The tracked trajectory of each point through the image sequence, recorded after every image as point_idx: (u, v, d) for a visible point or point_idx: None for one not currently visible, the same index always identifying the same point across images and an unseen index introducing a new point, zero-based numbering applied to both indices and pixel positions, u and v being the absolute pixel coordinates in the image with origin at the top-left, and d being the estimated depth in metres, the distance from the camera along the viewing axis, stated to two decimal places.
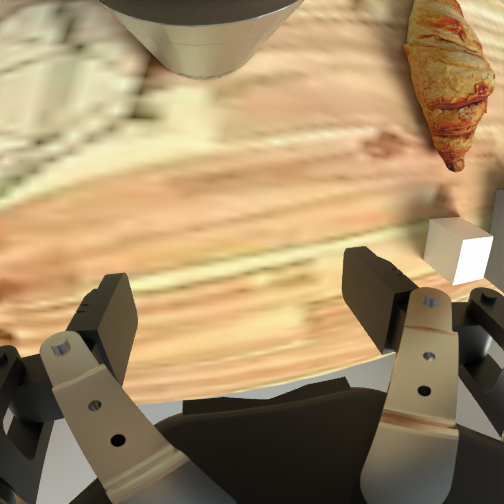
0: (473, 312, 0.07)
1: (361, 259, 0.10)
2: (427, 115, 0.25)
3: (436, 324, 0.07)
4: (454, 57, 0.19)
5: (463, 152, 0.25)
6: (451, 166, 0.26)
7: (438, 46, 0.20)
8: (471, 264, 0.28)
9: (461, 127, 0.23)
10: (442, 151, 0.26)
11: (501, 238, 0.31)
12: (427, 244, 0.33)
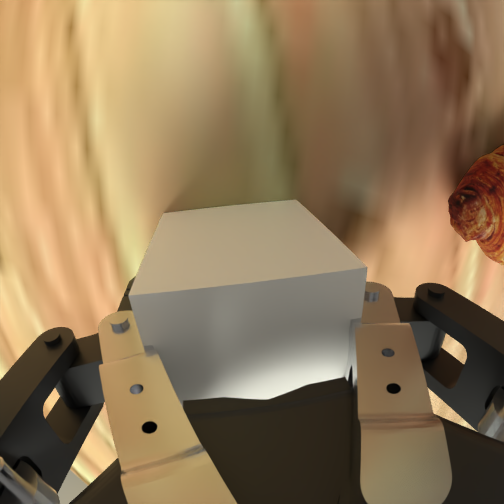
0: (422, 311, 0.08)
1: None
2: None
3: (368, 318, 0.07)
4: None
5: None
6: (473, 194, 0.10)
7: None
8: (239, 365, 0.07)
9: None
10: (492, 165, 0.10)
11: None
12: (218, 209, 0.12)
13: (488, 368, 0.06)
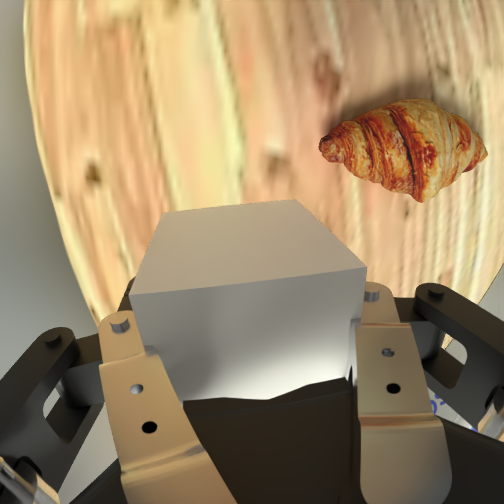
0: (422, 311, 0.08)
1: None
2: (372, 110, 0.25)
3: (368, 318, 0.07)
4: (445, 123, 0.23)
5: (349, 149, 0.25)
6: (327, 138, 0.25)
7: (444, 116, 0.24)
8: (239, 365, 0.07)
9: (379, 138, 0.24)
10: (342, 125, 0.25)
11: None
12: (218, 209, 0.12)
13: (488, 368, 0.06)
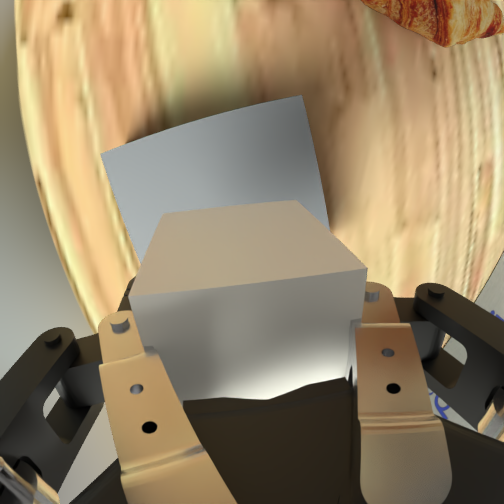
0: (422, 311, 0.08)
1: None
2: None
3: (368, 318, 0.07)
4: None
5: None
6: None
7: None
8: (239, 366, 0.07)
9: None
10: None
11: None
12: (218, 209, 0.12)
13: (488, 368, 0.06)
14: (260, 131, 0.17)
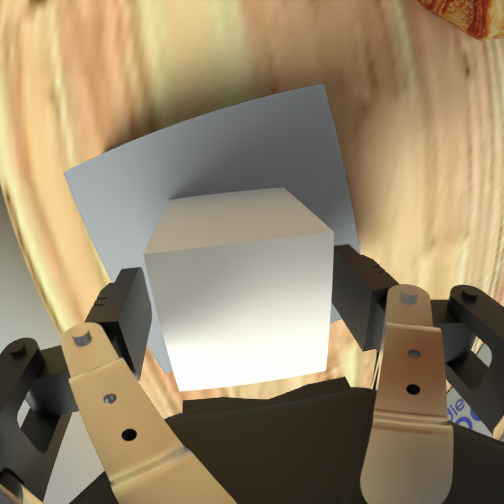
0: (455, 311, 0.07)
1: (343, 257, 0.10)
2: None
3: (411, 321, 0.07)
4: None
5: None
6: None
7: None
8: (232, 315, 0.09)
9: None
10: None
11: None
12: (216, 195, 0.13)
13: None
14: (270, 132, 0.13)
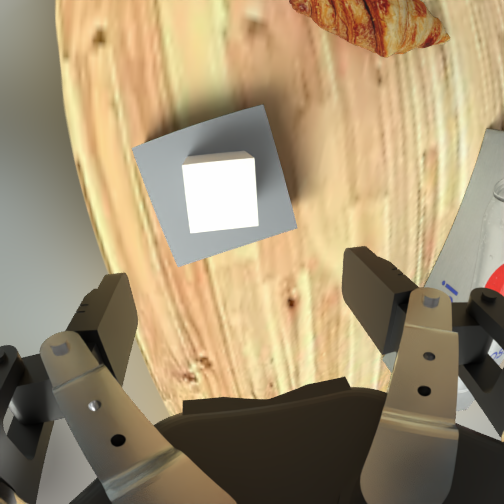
0: (473, 312, 0.07)
1: (361, 259, 0.10)
2: None
3: (436, 324, 0.07)
4: None
5: None
6: None
7: None
8: (214, 192, 0.22)
9: None
10: None
11: None
12: (210, 154, 0.27)
13: None
14: (236, 129, 0.27)
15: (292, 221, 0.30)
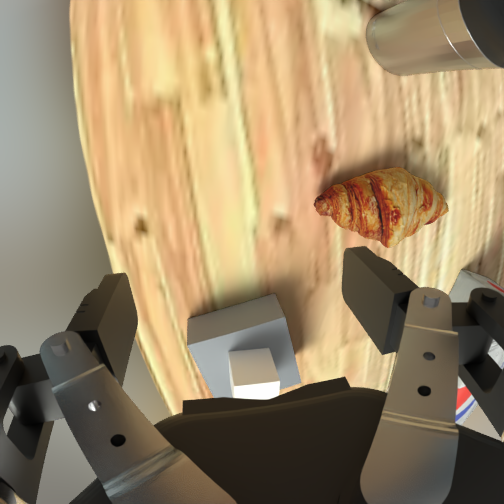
0: (473, 312, 0.07)
1: (361, 259, 0.10)
2: (357, 177, 0.36)
3: (436, 324, 0.07)
4: (412, 191, 0.34)
5: (336, 208, 0.35)
6: (321, 198, 0.36)
7: (413, 184, 0.35)
8: (253, 397, 0.34)
9: (359, 201, 0.35)
10: (333, 188, 0.36)
11: (234, 316, 0.40)
12: (245, 351, 0.38)
13: None
14: (264, 334, 0.38)
15: (298, 379, 0.42)
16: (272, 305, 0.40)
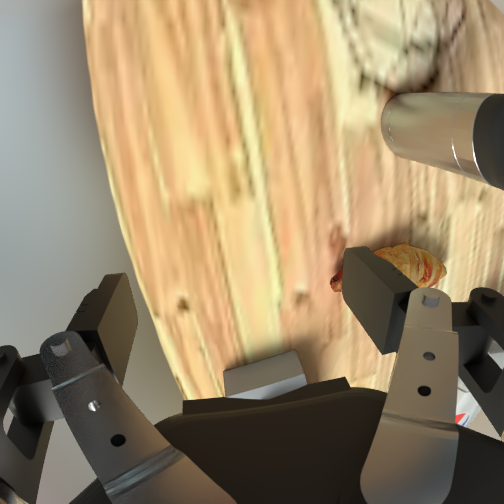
0: (473, 312, 0.07)
1: (361, 259, 0.10)
2: None
3: (436, 324, 0.07)
4: (413, 270, 0.40)
5: None
6: (336, 279, 0.42)
7: (415, 261, 0.41)
8: None
9: None
10: None
11: (263, 370, 0.47)
12: None
13: None
14: (287, 386, 0.45)
15: None
16: (293, 362, 0.47)
